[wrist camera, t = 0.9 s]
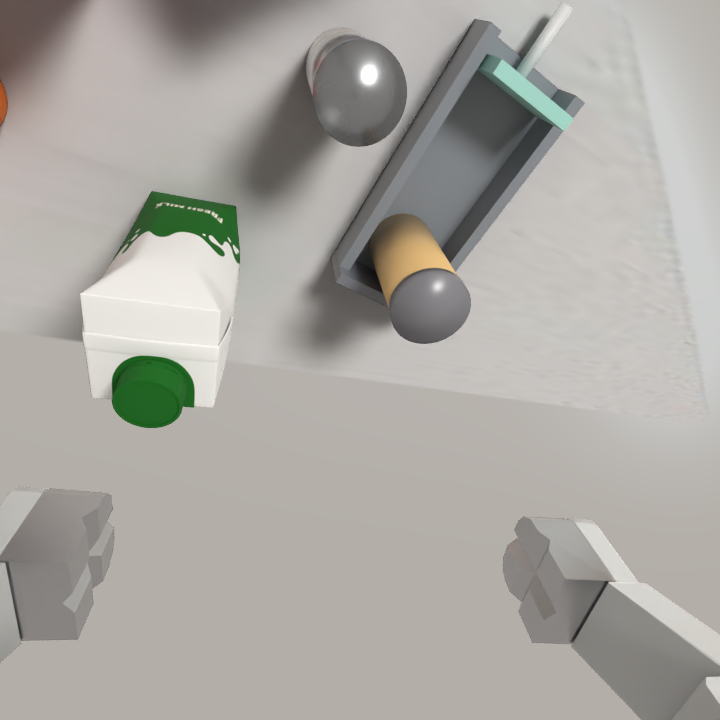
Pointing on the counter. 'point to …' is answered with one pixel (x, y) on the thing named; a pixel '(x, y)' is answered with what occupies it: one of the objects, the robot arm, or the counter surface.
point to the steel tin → (355, 87)
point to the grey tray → (455, 160)
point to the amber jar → (417, 280)
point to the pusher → (516, 79)
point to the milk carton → (164, 311)
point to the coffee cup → (3, 103)
